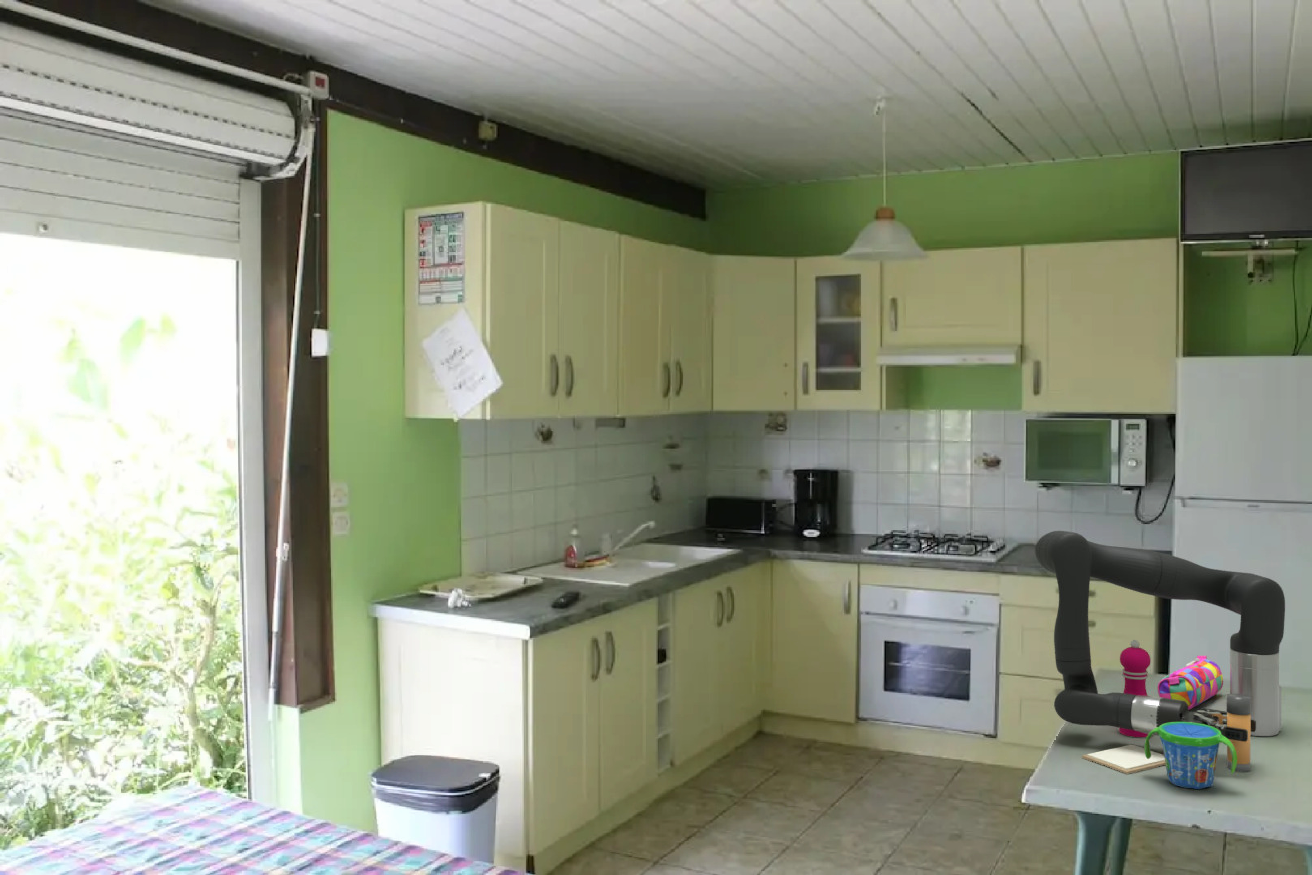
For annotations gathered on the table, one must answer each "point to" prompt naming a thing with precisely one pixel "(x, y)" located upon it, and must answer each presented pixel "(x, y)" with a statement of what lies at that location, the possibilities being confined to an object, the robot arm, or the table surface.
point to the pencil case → (1192, 682)
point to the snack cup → (1190, 752)
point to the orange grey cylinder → (1241, 719)
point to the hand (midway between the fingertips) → (1251, 730)
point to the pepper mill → (1134, 676)
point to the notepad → (1127, 759)
